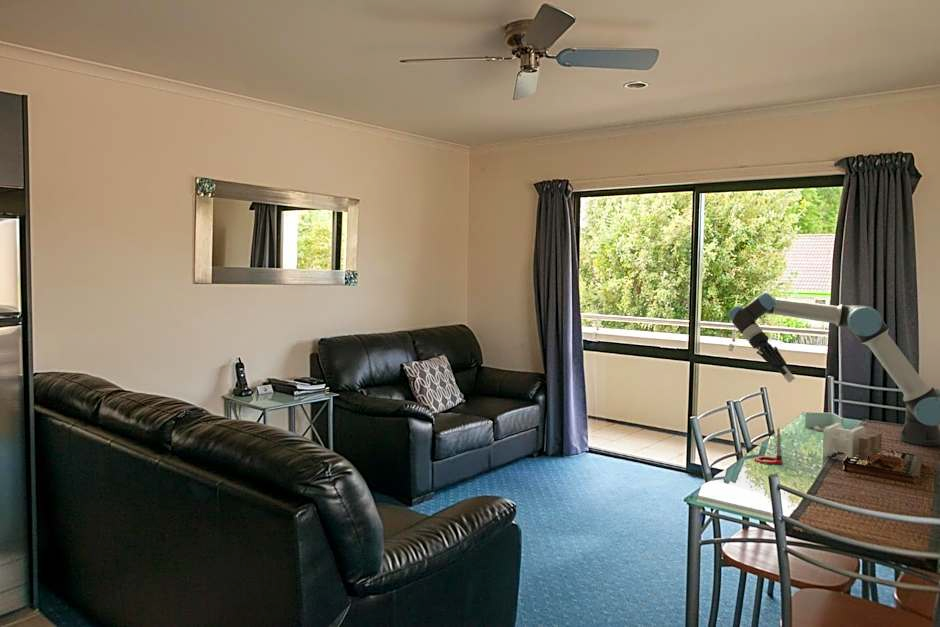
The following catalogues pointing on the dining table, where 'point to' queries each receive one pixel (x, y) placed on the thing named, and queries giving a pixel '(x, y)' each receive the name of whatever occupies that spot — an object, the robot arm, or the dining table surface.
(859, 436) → the cable organizer
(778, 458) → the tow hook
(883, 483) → the dining table surface
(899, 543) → the dining table surface
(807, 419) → the l-shaped corner panel
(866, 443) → the keeper stop
